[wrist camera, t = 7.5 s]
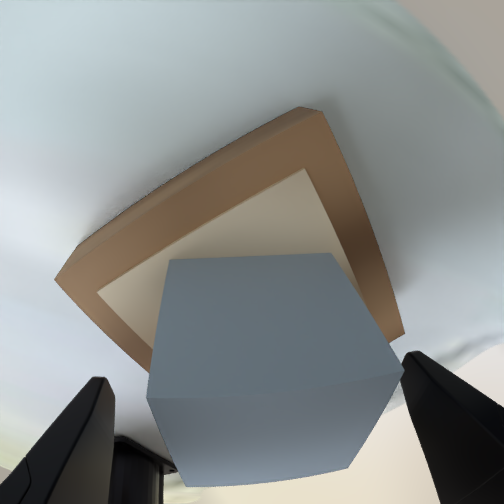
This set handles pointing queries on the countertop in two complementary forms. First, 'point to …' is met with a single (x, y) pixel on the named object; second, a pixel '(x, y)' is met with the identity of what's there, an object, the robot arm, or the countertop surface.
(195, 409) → the block
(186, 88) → the countertop surface
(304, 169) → the base
